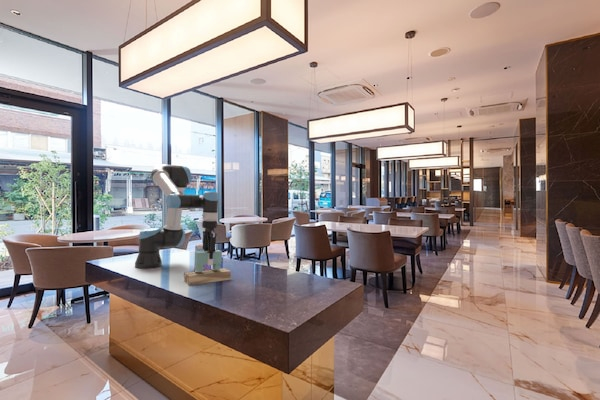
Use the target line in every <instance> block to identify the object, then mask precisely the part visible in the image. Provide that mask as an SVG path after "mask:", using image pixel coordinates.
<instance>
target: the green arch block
mask: <svg viewBox="0 0 600 400" xmlns="http://www.w3.org/2000/svg"><path fill="white" fill-rule="evenodd" d="M207 252H209V251H197V252H195V251H194V266H195V265H196V271H198V272H203V265H207V261H208V253H207ZM222 256H223V251H222V250H221V249H215V252H214V253H213V265H212V269H214V270H220V268H221V264H222V260H223V259H222V258H223V257H222Z"/></svg>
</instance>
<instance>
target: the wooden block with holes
mask: <svg viewBox="0 0 600 400" xmlns="http://www.w3.org/2000/svg"><path fill="white" fill-rule="evenodd" d="M231 275H232V270H229V269H227V268H225V267H222V268H221V267H220V270H214V269H213V268H211V269H210V270H203V272H198V271H194V270H193V271H186V272H185V271H184V274H183V282H184V283H185V284H187V285H188V286H195V285H200V284H201V285H202V284H208V283H217V282H223V281H228V280H230V281H231V277H232V276H231Z"/></svg>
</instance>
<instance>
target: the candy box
mask: <svg viewBox="0 0 600 400" xmlns="http://www.w3.org/2000/svg"><path fill="white" fill-rule="evenodd" d="M197 251H204V249H203V242H202V243H199V244H197V245H195V250H194V253H195V252H197ZM211 269H212V265H203V270H211ZM194 271H196V265H195V264H194V269H193V272H194Z"/></svg>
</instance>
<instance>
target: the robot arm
mask: <svg viewBox="0 0 600 400" xmlns="http://www.w3.org/2000/svg"><path fill="white" fill-rule="evenodd" d="M150 178H151V181H152V182H153V184H155V185H157V186H158V187H159V188H160V190H161V191H162V192H163V194H164V195H165V196H166V199H165V200H166V201H165V203H166V206H167V213H166V221H165V222H166V223H165V225H163V226H162V227H163V229H161V228H159V227H151V228H145V229H142V230H140V231H139V235H138V254H137V257H136V259H135V262H134V267H135V268H137V269H152V268H158V267H161V266H162V265H163V264H162V263H163V261H162V258H161V255H160V250H161V249H165V248H167V249H169V248H178V247H181V246H182V245H184V242H185V240H186V232H185V230H184V229H183V226H182V225H181V223H182V222H181V221H182V213H183V209H191V210H192V209H194V210H195V209H199V210H200V209H202V214H201V216H202V225H201V227H202V228H203V229H204V230H203V231H202V243H203V249H204V251H209V252H207V253H208V261H207V265H211V266H213V253H214V252H215V250H216V247H217V245H216V242H217V233H215V229H217V228H218V216H219V215H218V214H219V213H218V210H219V209H218V208H219V207H218V206H219V192H217V191H204V192H203V194H185V190H186V189H187V188H188V186H189V185H190V184H191V182H192V172H191V169H190V168H189V167H187V166H183V165H176V164H175V165H173V164H167V163H166V164H165V163H164V164H159V165H157V166H155V167H154V168H153V169H152V170H151V172H150Z"/></svg>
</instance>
